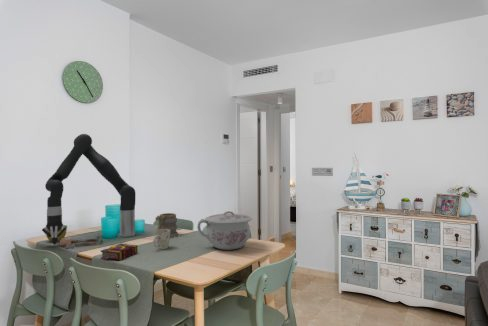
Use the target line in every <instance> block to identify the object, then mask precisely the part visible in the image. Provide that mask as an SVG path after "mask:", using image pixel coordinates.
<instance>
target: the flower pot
mask: <svg viewBox="0 0 488 326" xmlns="http://www.w3.org/2000/svg"><path fill="white" fill-rule="evenodd" d="M63 226H65V227H67V228H66V230H65V231H64V232H63V233H62V234H61V236H59V237H58V242H60V240H61V239H62V238H66V237H65V236H66V234H67V229H68V225H64V224H63ZM47 231H48V232H49V233H50V234H51V231H49V230H48V228H47ZM61 231H62V227H61V229H60V230H59V231H58V234H59V233H60V232H61ZM54 234H55V231H54ZM45 236H46V238H47V240H48V241H49V242H51V241H52V238H51V237H48V236H47V235H46V234H45Z"/></svg>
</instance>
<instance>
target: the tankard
mask: <svg viewBox="0 0 488 326" xmlns="http://www.w3.org/2000/svg"><path fill="white" fill-rule="evenodd" d="M154 219H155V221H158V225H157V230H159V229H169V230H170V238H174V237H176V236H178V235H179V232H178V231H177V229H178V224H177V222H178V218H177V214H176V213H172V212H170V213H169V212H166V213H160V214H159V215H157V216H155V218H154Z"/></svg>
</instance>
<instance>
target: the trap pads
mask: <svg viewBox="0 0 488 326" xmlns="http://www.w3.org/2000/svg"><path fill="white" fill-rule="evenodd" d="M78 240H79V242H78V243H87V241H86V240H87V239H78ZM69 248H72V249H74V248H75V245H70V246H66V247H64V250H68V249H69ZM69 250H70V249H69Z"/></svg>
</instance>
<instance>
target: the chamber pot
mask: <svg viewBox="0 0 488 326" xmlns="http://www.w3.org/2000/svg"><path fill="white" fill-rule="evenodd" d="M252 220H253V217H251V216H250V215H246V214H241V213H234V212H233V211H224V212H223V213H219V214H218V213H217V214H213V215H208V216H206V217H205V218H201V219H200V220H199V221H198V223H197V227H196V228H197V231H198V232H199V234H200V235H202V236H203V237H204V238H206V239H207V240H208V241H209V243H210V244H212V247H214V248H216V249H218V250H222V251H233V250H234V251H235V250H238V249H241V248H243V247H244V246H245V245H246V243H247V241H248V240H249V236H250V232H251V226H250V224H249V222H250V221H252ZM203 223H204V224H206V229H207V231H206V232H207V234H206V233H204V232H203V230H202V229H201V224H203Z"/></svg>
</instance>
